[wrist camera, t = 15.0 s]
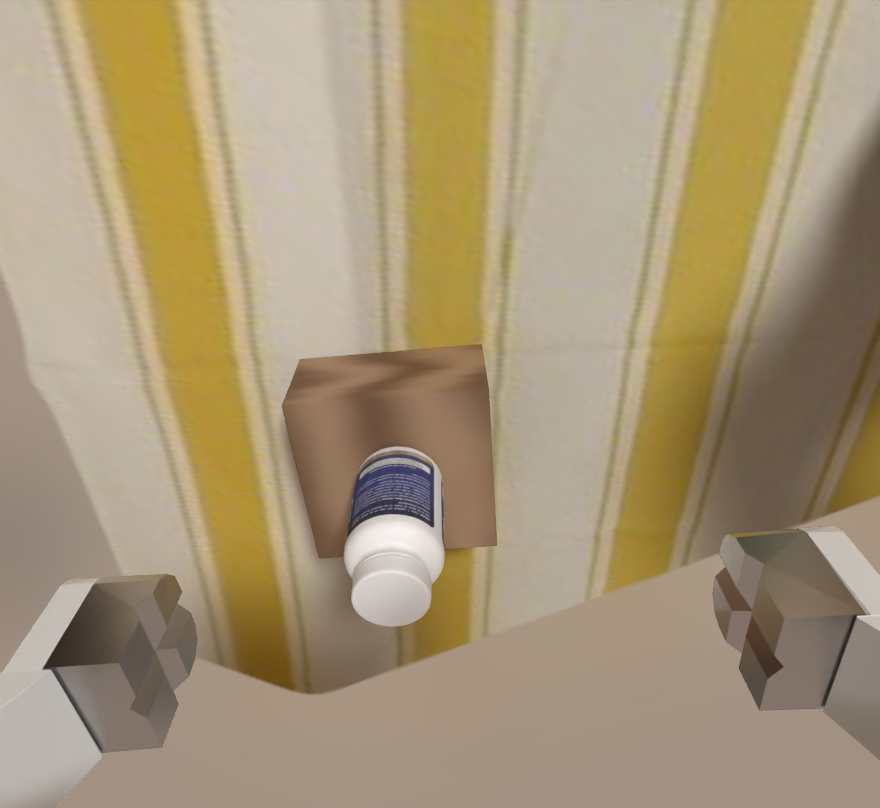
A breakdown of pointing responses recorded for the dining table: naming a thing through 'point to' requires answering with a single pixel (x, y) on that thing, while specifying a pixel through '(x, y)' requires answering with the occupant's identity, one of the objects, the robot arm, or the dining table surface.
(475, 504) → the walnut riser
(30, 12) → the dining table surface
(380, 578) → the pill bottle
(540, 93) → the dining table surface
